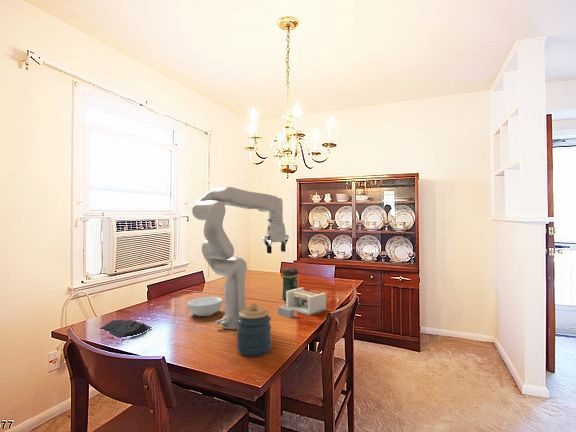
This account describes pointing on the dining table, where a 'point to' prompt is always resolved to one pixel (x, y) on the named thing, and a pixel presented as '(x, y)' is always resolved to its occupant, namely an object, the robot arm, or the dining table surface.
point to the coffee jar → (289, 280)
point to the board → (303, 294)
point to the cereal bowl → (205, 306)
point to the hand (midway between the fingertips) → (276, 252)
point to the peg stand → (311, 307)
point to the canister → (254, 331)
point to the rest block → (286, 311)
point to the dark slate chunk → (125, 328)
